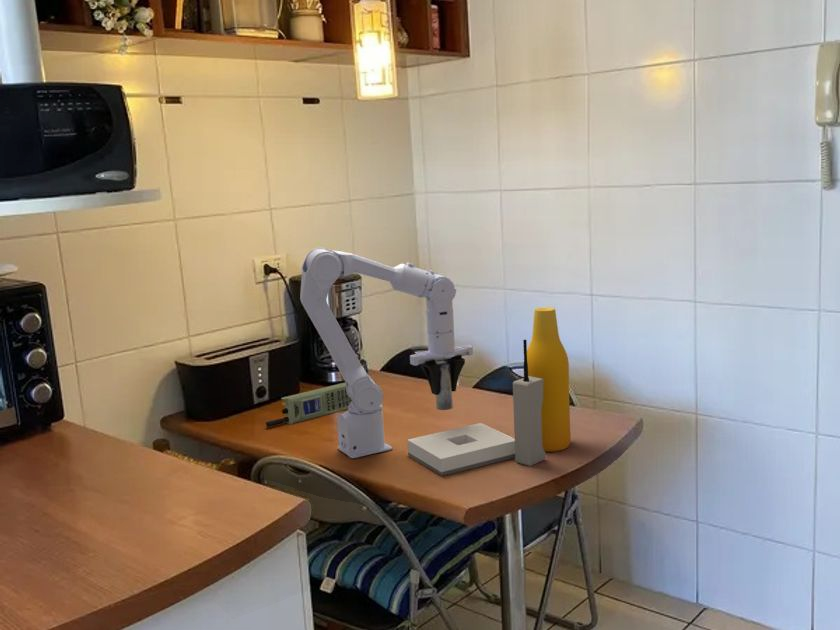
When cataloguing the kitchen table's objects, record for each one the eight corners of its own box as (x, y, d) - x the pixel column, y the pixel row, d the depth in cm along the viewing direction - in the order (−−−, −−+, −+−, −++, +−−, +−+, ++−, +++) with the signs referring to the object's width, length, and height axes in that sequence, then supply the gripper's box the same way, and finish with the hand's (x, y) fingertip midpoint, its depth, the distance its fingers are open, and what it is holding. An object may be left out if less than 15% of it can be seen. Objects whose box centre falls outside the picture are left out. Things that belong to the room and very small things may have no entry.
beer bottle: (544, 434, 183) (541, 303, 177) (579, 443, 176) (577, 307, 171) (517, 446, 176) (512, 310, 171) (552, 455, 170) (548, 314, 164)
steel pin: (441, 411, 180) (439, 365, 179) (433, 407, 184) (430, 362, 182) (455, 407, 182) (453, 363, 180) (447, 404, 185) (445, 360, 183)
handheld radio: (359, 407, 211) (270, 431, 196) (351, 405, 214) (264, 429, 199) (356, 382, 210) (267, 403, 195) (349, 380, 213) (261, 401, 198)
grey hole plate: (441, 476, 162) (440, 458, 161) (408, 455, 174) (407, 439, 174) (518, 456, 170) (518, 440, 170) (481, 438, 182) (480, 422, 182)
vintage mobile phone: (545, 459, 168) (542, 337, 163) (530, 466, 164) (526, 342, 160) (531, 455, 170) (527, 335, 166) (515, 462, 167) (511, 340, 162)
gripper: (419, 338, 173) (423, 402, 175) (479, 328, 179) (481, 390, 182) (404, 333, 179) (407, 394, 181) (462, 324, 186) (464, 383, 188)
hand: (443, 392), depth 182 cm, fingers closed on steel pin, 4 cm apart
